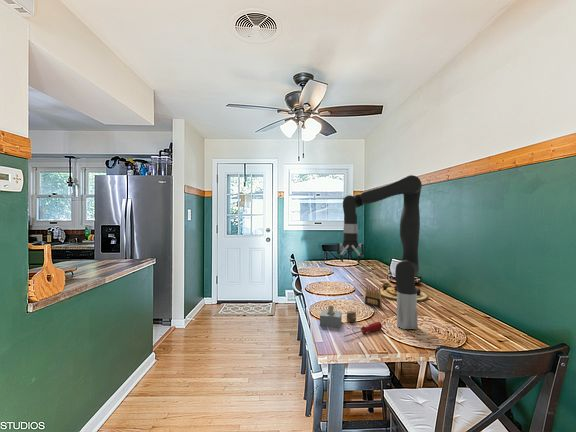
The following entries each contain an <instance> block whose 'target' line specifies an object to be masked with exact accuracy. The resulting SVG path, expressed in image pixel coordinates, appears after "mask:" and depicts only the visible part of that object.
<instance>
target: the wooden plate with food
mask: <svg viewBox="0 0 576 432" xmlns="http://www.w3.org/2000/svg"><path fill="white" fill-rule="evenodd" d="M381 287H382V288H380V290H381V298H384V299H387V300H391V301H396V302H397V287H396V284H395V285H393V286H391V284H390V283H389V282H387V281H384V283H383V284H382V286H381ZM415 287H416V288H417V303H418V302H419V303H420V302H425V301H427V300H428V295H427V293H424V292H423V291H421V289H420V288H419V287H418V286H416V285H415Z"/></svg>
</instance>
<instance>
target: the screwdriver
mask: <svg viewBox="0 0 576 432" xmlns="http://www.w3.org/2000/svg"><path fill="white" fill-rule="evenodd" d="M382 328H383V324H382V323H381V322H380V321H377V322H372V323H370V324H368V325H367V326H362V327H360V330H359V331H355V332H353V333H349V334H346V335H343V338H346V337H349V336H352V335H355V334H359V333H362V334H364V335H366V334H367V333H368V332H375V331H378V330H381V329H382Z"/></svg>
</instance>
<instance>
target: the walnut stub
mask: <svg viewBox="0 0 576 432" xmlns="http://www.w3.org/2000/svg"><path fill="white" fill-rule="evenodd" d="M346 322H348V323H356V322H357V311H353V310H347V311H346Z"/></svg>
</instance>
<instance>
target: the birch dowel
mask: <svg viewBox="0 0 576 432" xmlns="http://www.w3.org/2000/svg"><path fill="white" fill-rule="evenodd" d="M327 307H328V309H327V310H328V314H331V315H333V311H334V305H333V304H328V306H327Z"/></svg>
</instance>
